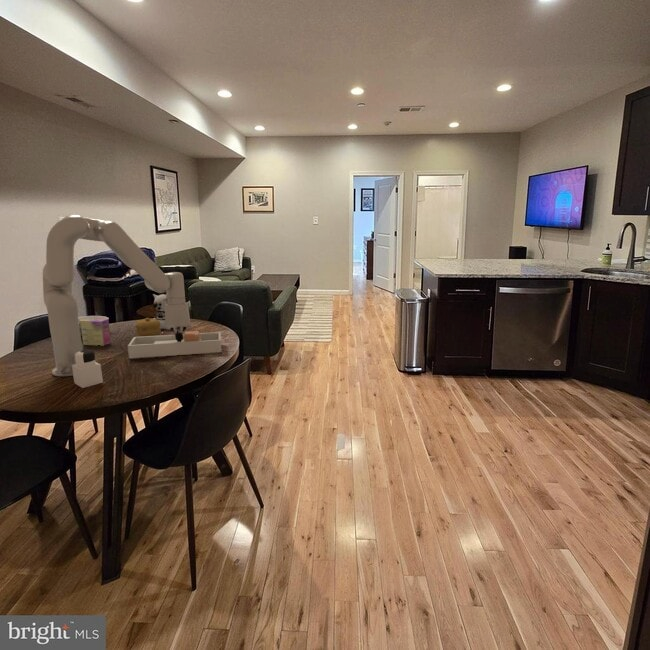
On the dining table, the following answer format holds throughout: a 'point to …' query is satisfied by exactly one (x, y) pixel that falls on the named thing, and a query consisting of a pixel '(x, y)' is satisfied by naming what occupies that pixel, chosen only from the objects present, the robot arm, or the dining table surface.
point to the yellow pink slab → (91, 318)
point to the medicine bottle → (86, 369)
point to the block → (191, 336)
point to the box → (95, 331)
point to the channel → (173, 346)
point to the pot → (148, 327)
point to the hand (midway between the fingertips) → (179, 341)
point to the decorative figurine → (160, 309)
